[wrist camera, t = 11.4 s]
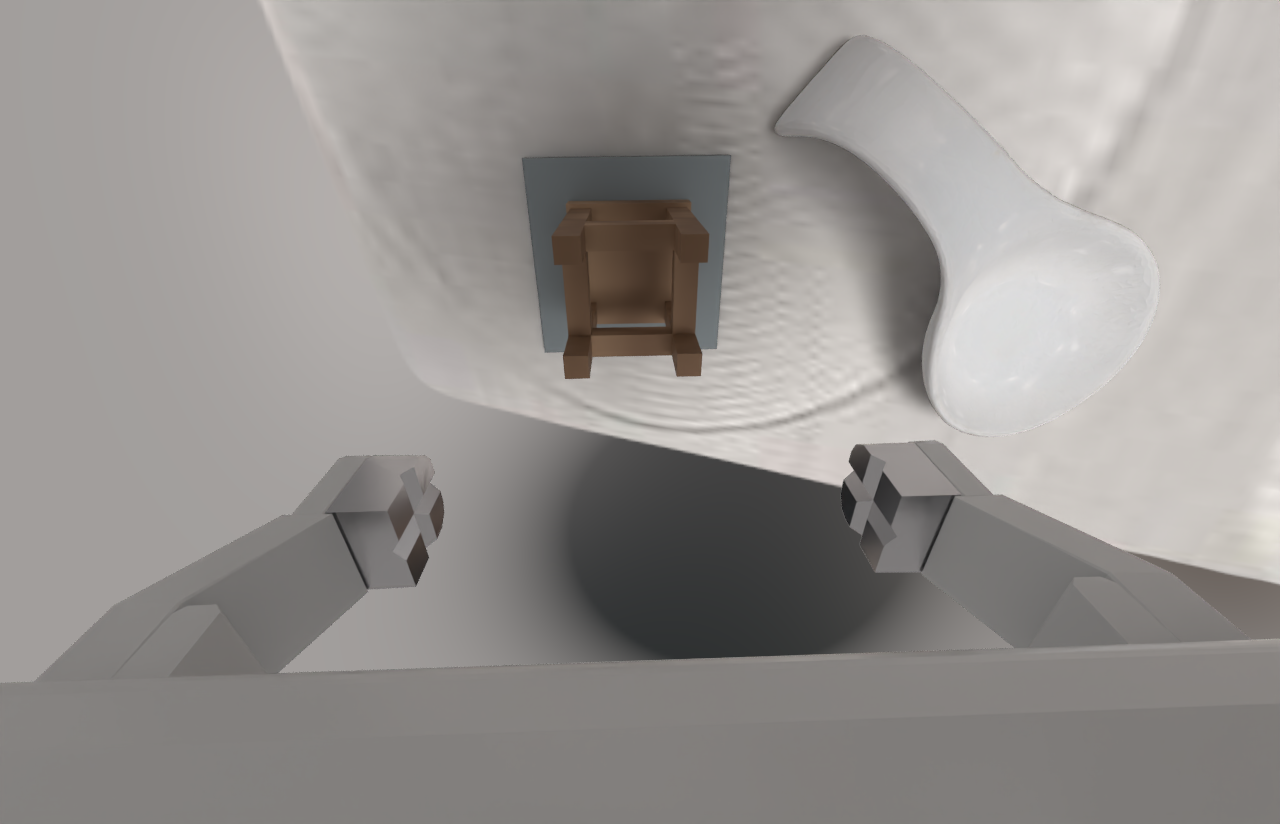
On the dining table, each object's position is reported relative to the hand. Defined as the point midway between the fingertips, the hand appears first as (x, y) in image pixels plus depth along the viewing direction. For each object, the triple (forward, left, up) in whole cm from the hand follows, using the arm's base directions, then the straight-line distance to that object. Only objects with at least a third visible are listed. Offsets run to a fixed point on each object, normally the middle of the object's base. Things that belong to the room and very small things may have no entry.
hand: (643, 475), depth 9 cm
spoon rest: (0, +17, -20) cm, 26 cm away
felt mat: (0, 0, -19) cm, 19 cm away
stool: (0, 0, -19) cm, 19 cm away
